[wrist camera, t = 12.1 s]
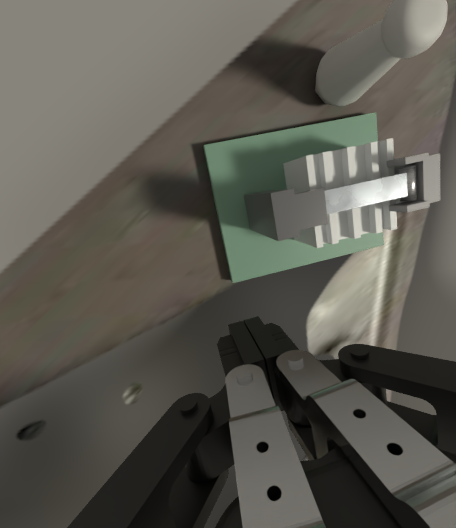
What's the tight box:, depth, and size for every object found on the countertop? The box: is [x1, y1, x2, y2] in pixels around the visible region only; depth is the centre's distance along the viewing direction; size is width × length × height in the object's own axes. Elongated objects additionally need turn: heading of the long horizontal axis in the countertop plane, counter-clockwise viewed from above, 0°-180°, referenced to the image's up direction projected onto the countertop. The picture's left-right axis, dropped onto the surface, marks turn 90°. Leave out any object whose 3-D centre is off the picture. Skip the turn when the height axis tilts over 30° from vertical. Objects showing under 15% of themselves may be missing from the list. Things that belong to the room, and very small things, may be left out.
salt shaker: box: [315, 0, 447, 106], centre depth 26 cm, size 6×6×13 cm
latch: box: [244, 188, 328, 241], centre depth 28 cm, size 4×5×10 cm
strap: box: [324, 165, 417, 214], centre depth 26 cm, size 3×13×1 cm, turn 101°
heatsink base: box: [203, 113, 440, 283], centre depth 30 cm, size 16×21×10 cm
